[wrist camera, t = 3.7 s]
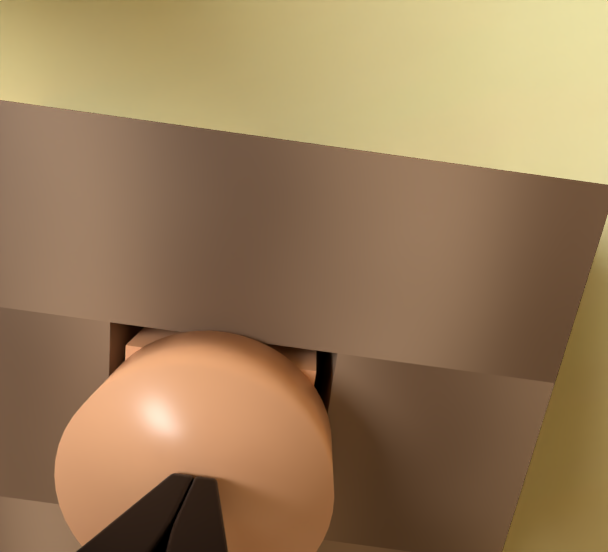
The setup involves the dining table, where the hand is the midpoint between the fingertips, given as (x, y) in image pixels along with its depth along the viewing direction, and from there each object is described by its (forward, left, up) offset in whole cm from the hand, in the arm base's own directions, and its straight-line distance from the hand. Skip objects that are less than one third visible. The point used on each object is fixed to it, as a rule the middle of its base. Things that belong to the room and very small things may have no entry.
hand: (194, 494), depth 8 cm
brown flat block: (0, +5, -7) cm, 9 cm away
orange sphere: (0, 0, -5) cm, 5 cm away
